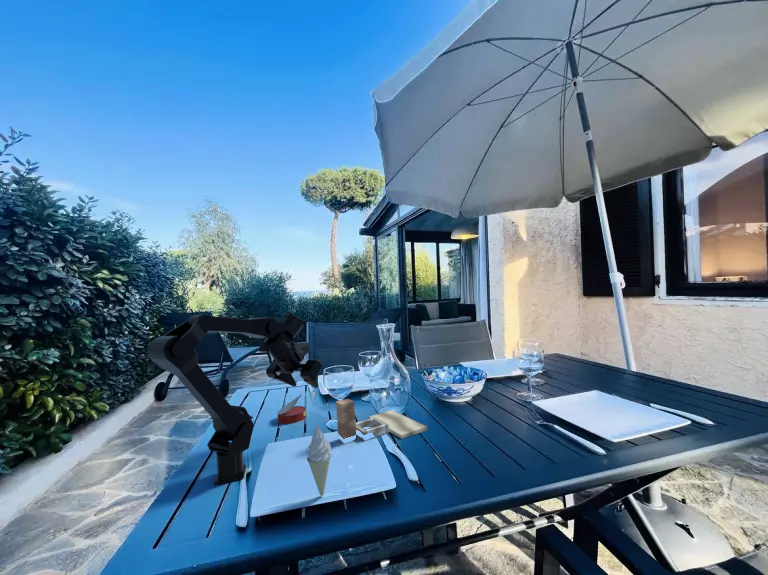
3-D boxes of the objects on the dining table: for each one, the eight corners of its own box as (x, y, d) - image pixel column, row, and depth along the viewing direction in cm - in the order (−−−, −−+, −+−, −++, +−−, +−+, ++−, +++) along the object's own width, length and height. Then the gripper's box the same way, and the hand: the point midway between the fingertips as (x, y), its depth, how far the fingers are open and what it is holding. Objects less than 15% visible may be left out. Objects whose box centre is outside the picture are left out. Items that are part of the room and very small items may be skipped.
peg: (344, 444, 93) (341, 404, 93) (338, 439, 96) (335, 401, 97) (356, 440, 95) (354, 401, 95) (350, 435, 98) (348, 398, 99)
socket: (374, 448, 89) (373, 438, 89) (344, 426, 106) (343, 418, 106) (427, 430, 98) (426, 421, 98) (391, 413, 115) (391, 405, 115)
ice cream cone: (335, 488, 71) (330, 417, 71) (332, 502, 66) (327, 426, 66) (312, 490, 71) (307, 419, 71) (307, 504, 66) (302, 428, 66)
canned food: (296, 436, 113) (287, 415, 109) (275, 429, 118) (265, 409, 114) (316, 411, 121) (308, 391, 117) (296, 406, 126) (287, 386, 122)
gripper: (319, 332, 98) (340, 367, 106) (275, 333, 107) (297, 366, 115) (299, 360, 90) (324, 396, 98) (253, 359, 99) (279, 392, 107)
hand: (306, 386), depth 104 cm, fingers open, 9 cm apart
